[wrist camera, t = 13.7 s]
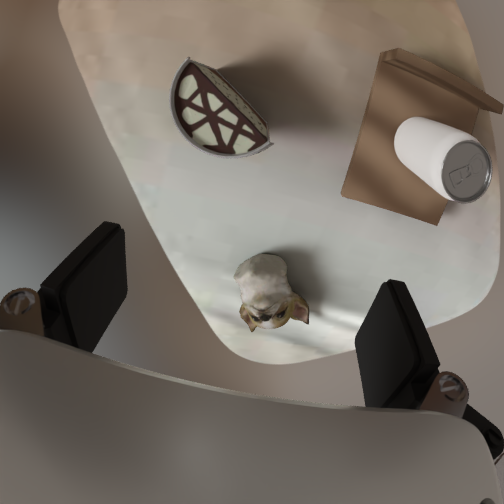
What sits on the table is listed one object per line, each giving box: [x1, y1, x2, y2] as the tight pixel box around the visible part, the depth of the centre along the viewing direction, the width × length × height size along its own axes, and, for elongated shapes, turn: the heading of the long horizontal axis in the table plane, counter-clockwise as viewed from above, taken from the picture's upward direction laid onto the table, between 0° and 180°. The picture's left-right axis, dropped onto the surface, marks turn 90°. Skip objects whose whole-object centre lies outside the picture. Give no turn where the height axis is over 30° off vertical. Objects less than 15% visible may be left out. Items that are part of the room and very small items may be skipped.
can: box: [394, 117, 492, 203], centre depth 26 cm, size 6×6×12 cm
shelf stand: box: [341, 48, 503, 226], centre depth 31 cm, size 18×14×9 cm
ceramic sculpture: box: [234, 254, 309, 332], centre depth 45 cm, size 11×9×15 cm
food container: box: [169, 57, 274, 158], centre depth 31 cm, size 12×6×10 cm, turn 42°
